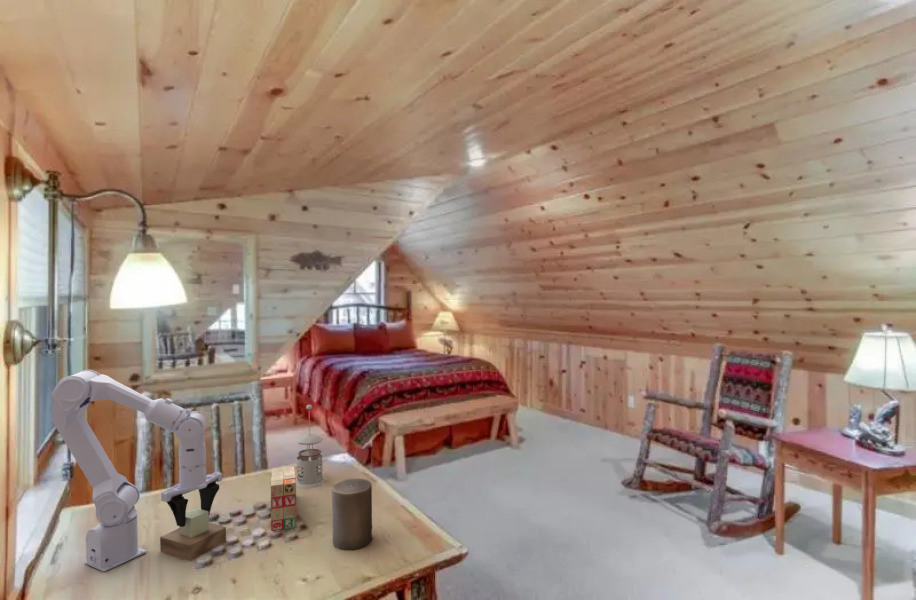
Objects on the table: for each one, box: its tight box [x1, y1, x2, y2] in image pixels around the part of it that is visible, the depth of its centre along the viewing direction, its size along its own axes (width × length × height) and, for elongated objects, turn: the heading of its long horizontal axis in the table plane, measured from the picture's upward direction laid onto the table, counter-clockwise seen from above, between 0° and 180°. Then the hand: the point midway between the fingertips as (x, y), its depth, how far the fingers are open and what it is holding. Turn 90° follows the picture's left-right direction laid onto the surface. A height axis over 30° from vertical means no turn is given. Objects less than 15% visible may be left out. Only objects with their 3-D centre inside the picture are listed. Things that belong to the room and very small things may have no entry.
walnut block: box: [159, 522, 227, 562], centre depth 123 cm, size 10×10×4 cm
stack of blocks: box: [270, 466, 297, 532], centre depth 141 cm, size 21×6×12 cm, turn 20°
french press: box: [295, 404, 326, 489], centre depth 164 cm, size 10×12×25 cm
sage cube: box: [178, 507, 210, 538], centre depth 123 cm, size 4×4×4 cm
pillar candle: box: [331, 478, 374, 551], centre depth 126 cm, size 10×10×15 cm
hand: (193, 520), depth 123 cm, fingers open, 6 cm apart
